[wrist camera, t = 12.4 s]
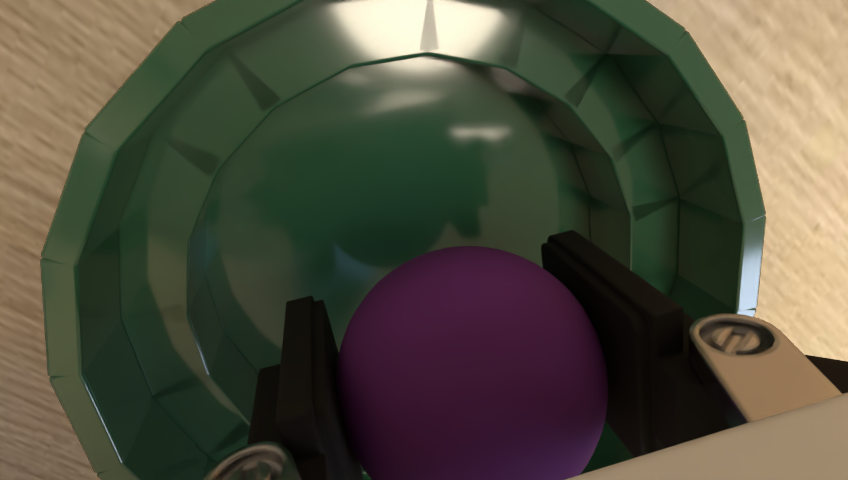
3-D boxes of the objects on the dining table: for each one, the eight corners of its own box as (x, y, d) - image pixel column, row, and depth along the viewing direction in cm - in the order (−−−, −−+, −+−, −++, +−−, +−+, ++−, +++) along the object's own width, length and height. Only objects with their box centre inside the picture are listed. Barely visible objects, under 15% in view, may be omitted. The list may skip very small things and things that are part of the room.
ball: (320, 403, 13) (325, 611, 8) (344, 200, 11) (367, 314, 6) (515, 406, 14) (618, 589, 9) (562, 224, 12) (715, 333, 8)
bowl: (131, 461, 16) (62, 623, 12) (126, -94, 12) (7, -183, 7) (572, 456, 20) (649, 578, 16) (703, 32, 15) (870, 26, 11)
